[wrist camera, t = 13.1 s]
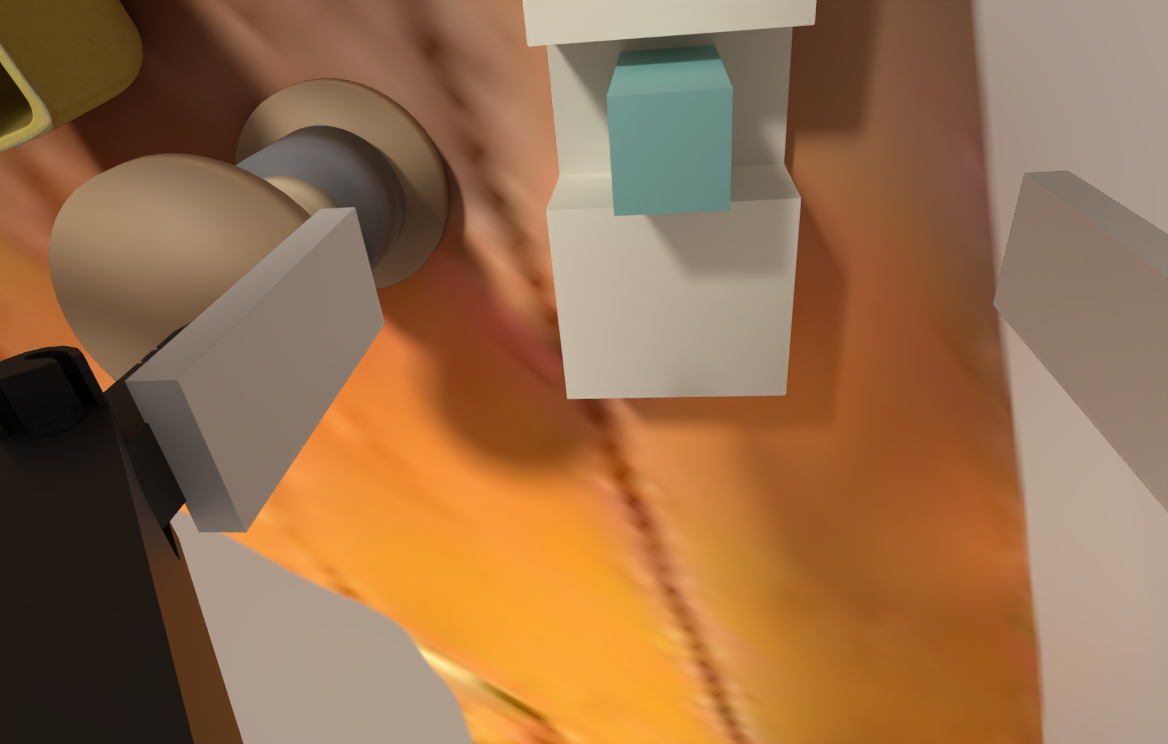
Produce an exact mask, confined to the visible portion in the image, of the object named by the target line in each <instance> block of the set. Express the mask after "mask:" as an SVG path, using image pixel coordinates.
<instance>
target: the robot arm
mask: <svg viewBox="0 0 1168 744" xmlns="http://www.w3.org/2000/svg"><path fill="white" fill-rule="evenodd" d="M993 305H994V307H995V308H996V309H997V310H998V311H999V313H1000V314H1001V315H1002V316H1003V317H1004V318H1005V320H1006V321H1007V322H1008V323H1009V324H1010V325H1011V326H1012V328H1013V329H1014V330H1015V331H1016V333H1017V334H1018V335H1019V336H1020V337H1021V339H1022V340H1023V341H1024V342H1025V343H1026V345H1027V346H1028V347H1029V348H1030V349H1031V350H1032V352H1033V353H1034V354H1035V355H1036V356H1037V358H1038V359H1039V360H1040V361H1041V362H1042V364H1043V365H1044V366H1045V367H1046V368H1047V369H1048V371H1049V372H1050V373H1051V374H1052V375H1053V376H1054V378H1055V379H1056V380H1057V381H1058V383H1059V384H1060V385H1061V386H1062V387H1063V388H1064V390H1065V391H1066V392H1067V393H1068V394H1069V396H1070V397H1071V398H1072V399H1073V400H1074V401H1075V403H1076V404H1077V405H1078V406H1079V407H1080V409H1082V411H1083V412H1084V413H1085V415H1086V416H1087V417H1088V418H1089V419H1090V420H1091V422H1092V423H1093V424H1094V425H1095V426H1096V427H1097V429H1098V430H1099V431H1100V432H1101V434H1102V435H1103V436H1104V437H1105V438H1106V439H1107V441H1108V442H1109V443H1110V444H1111V445H1112V447H1113V448H1114V449H1115V450H1116V451H1117V452H1118V454H1119V455H1120V456H1121V457H1122V458H1123V460H1124V461H1125V462H1126V463H1127V464H1128V465H1129V467H1130V468H1131V469H1132V470H1133V471H1134V473H1135V474H1136V475H1137V476H1138V477H1139V479H1140V480H1141V481H1142V482H1143V483H1144V485H1145V486H1146V487H1147V488H1148V489H1149V490H1150V492H1151V493H1152V494H1153V495H1154V496H1155V498H1156V499H1157V500H1158V501H1159V502H1160V503H1161V505H1162V506H1163V507H1164V508H1165V509H1166V511H1167V512H1168V234H1166V233H1165V232H1163V231H1162V230H1160V229H1158V228H1157V227H1155V226H1154V225H1152V224H1151V223H1149V222H1147V221H1146V220H1144V219H1143V218H1141V217H1140V216H1138V215H1137V214H1135V213H1133V212H1132V211H1130V210H1128V209H1127V208H1126V207H1124V206H1122V205H1121V204H1119V203H1118V202H1116V201H1114V200H1113V199H1112V198H1110V197H1108V196H1107V195H1105V194H1104V193H1102V192H1101V191H1099V190H1097V189H1096V188H1094V187H1093V186H1091V185H1090V184H1088V183H1086V182H1085V181H1083V180H1082V179H1080V178H1078V177H1077V176H1076V175H1074V174H1072V173H1071V172H1069V171H1055V172H1035V173H1024V177H1023V181H1022V185H1021V190H1020V193H1019V198H1018V202H1017V206H1016V211H1015V214H1014V218H1013V223H1012V227H1011V232H1010V235H1009V239H1008V243H1007V248H1006V252H1005V256H1004V260H1003V264H1002V268H1001V272H1000V277H999V281H998V285H997V289H996V293H995V297H994V301H993ZM384 324H385V322H384V318H383V314H382V310H381V306H380V303H379V299H378V295H377V291H376V287H375V283H374V279H373V275H372V271H371V267H370V264H369V260H368V256H367V252H366V248H365V244H364V240H363V236H362V232H361V229H360V225H359V221H358V217H357V213H356V209H355V207H349V208H329V209H320V210H318V211H317V212H316V213H315V214H314V215H313V216H312V217H310V218H309V219H308V220H307V221H306V222H305V223H304V224H302V225H301V226H300V227H299V228H298V229H297V230H296V231H295V232H293V233H292V234H291V235H290V236H289V237H288V238H287V239H285V240H284V241H283V242H282V243H281V244H280V245H279V246H278V247H276V248H275V249H274V250H273V251H272V252H271V253H270V254H268V255H267V256H266V257H265V258H264V259H263V260H262V261H261V262H259V263H258V264H257V265H256V266H255V267H254V268H253V269H251V270H250V271H249V272H248V273H247V274H246V275H245V276H243V277H242V278H241V279H240V280H239V281H238V282H237V283H236V284H234V285H233V286H232V287H231V288H230V289H229V290H228V291H226V292H225V293H224V294H223V295H222V296H221V297H220V298H219V299H217V300H216V301H215V302H214V303H213V304H212V305H211V306H209V307H208V308H207V309H206V310H205V311H204V312H203V313H201V314H200V315H199V316H198V317H197V318H196V319H195V320H194V321H192V322H190V323H188V324H186V325H185V326H183V327H181V328H179V329H177V330H175V331H174V332H173V333H172V334H170V335H169V336H168V337H167V338H166V339H165V340H163V341H162V342H161V343H160V344H159V345H158V346H157V347H156V348H157V349H156V350H152V351H151V352H150V353H149V354H147V355H146V356H145V357H144V358H143V359H142V360H141V363H137V364H136V365H135V366H134V367H132V368H131V369H130V370H129V371H128V372H127V373H125V374H124V375H123V376H122V377H121V378H120V379H119V380H117V381H116V382H115V383H114V384H113V385H112V386H110V387H109V388H108V389H107V390H106V391H105V392H104V393H103V392H102V390H101V388H100V386H99V384H98V382H97V380H96V378H95V376H94V374H93V372H92V370H91V368H90V367H89V365H88V363H87V361H86V359H85V357H84V355H83V353H82V352H81V351H80V350H79V349H78V348H75V347H69V346H56V347H45V348H41V349H37V350H33V351H28V352H24V353H22V354H19V355H16V356H13V357H11V358H8V359H5V360H3V361H1V362H0V744H243V741H242V738H241V735H240V732H239V728H238V725H237V722H236V719H235V716H234V712H233V709H232V706H231V703H230V700H229V697H228V693H227V690H226V687H225V684H224V681H223V678H222V675H221V671H220V668H219V665H218V662H217V659H216V655H215V652H214V649H213V646H212V643H211V639H210V636H209V633H208V630H207V627H206V623H205V620H204V617H203V614H202V611H201V608H200V605H199V602H198V598H197V595H196V592H195V589H194V586H193V582H192V579H191V576H190V573H189V570H188V567H187V563H186V560H185V557H184V554H183V551H182V547H181V544H180V541H179V538H178V536H177V534H176V532H175V531H174V529H173V527H172V525H171V523H170V520H171V519H172V518H173V517H174V515H175V514H176V513H177V512H178V510H179V509H180V508H181V507H182V505H183V504H184V503H185V504H186V506H187V508H188V510H189V512H190V514H191V516H192V519H193V521H194V523H195V525H196V527H197V529H198V531H199V532H247V530H248V529H249V527H250V526H251V524H252V523H253V521H254V520H255V518H256V517H257V515H258V514H259V512H260V511H261V509H262V508H263V506H264V505H265V503H266V502H267V500H268V499H269V497H270V496H271V494H272V493H273V491H274V490H275V488H276V487H277V485H278V484H279V482H280V481H281V479H282V478H283V476H284V475H285V473H286V472H287V470H288V469H289V467H290V466H291V464H292V463H293V461H294V460H295V458H296V457H297V455H298V454H299V452H300V451H301V449H302V448H303V446H304V445H305V443H306V441H307V440H308V438H309V437H310V435H311V434H312V432H313V431H314V429H315V428H316V426H317V425H318V423H319V422H320V420H321V419H322V417H323V416H324V414H325V413H326V411H327V410H328V408H329V407H330V405H331V404H332V402H333V401H334V399H335V398H336V396H337V395H338V393H339V392H340V390H341V389H342V387H343V386H344V384H345V383H346V381H347V380H348V378H349V377H350V375H351V374H352V372H353V371H354V369H355V368H356V366H357V365H358V363H359V362H360V360H361V359H362V357H363V356H364V354H365V353H366V351H367V350H368V348H369V347H370V345H371V344H372V342H373V341H374V339H375V338H376V336H377V335H378V333H379V332H380V330H381V329H382V327H383V326H384Z"/></svg>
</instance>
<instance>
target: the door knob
mask: <svg viewBox="0 0 1168 744" xmlns="http://www.w3.org/2000/svg"><path fill="white" fill-rule="evenodd" d="M349 207H355V209H356V213H357V217H358V221H359V225H360V229H361V232H362V236H363V240H364V244H365V248H366V252H367V256H368V260H369V264H370V267H371V271H372V275H373V279H374V283H375V287H376V289H380V288H384V287H388V286H391V285H394V284H396V283H399V282H401V281H402V280H404V279H406V278H408V277H409V276H411V275H412V274H413V273H414V272H416V271H417V270H418V269H419V268H420V267H421V266H422V265H423V264H424V263H425V262H426V261H427V259H428V258H429V256H430V255H431V253H432V252H433V250H434V249H435V247H436V246H437V244H438V243H439V241H440V239H441V237H442V235H443V233H444V230H445V226H446V223H447V219H448V212H449V188H448V181H447V177H446V173H445V169H444V166H443V163H442V161H441V158H440V155H439V153H438V152H437V150H436V148H435V146H434V144H433V142H432V140H431V139H430V137H429V136H428V135H427V133H426V132H425V130H424V129H423V128H422V126H421V125H420V124H419V123H418V122H417V121H416V119H415V118H414V117H413V116H412V115H411V114H409V113H408V112H407V111H406V110H405V109H404V108H403V107H402V106H400V105H399V104H398V103H396V102H395V101H394V100H392V99H391V98H389V97H388V96H386V95H384V94H382V93H381V92H379V91H377V90H375V89H372V88H370V87H368V86H365V85H363V84H359V83H356V82H352V81H348V80H341V79H314V80H307V81H304V82H301V83H297V84H294V85H292V86H290V87H288V88H286V89H283V90H281V91H279V92H277V93H275V94H273V95H272V96H270V97H269V98H267V99H266V100H265V101H263V102H262V103H261V104H260V105H259V106H258V107H257V108H256V109H255V110H254V111H253V112H252V114H251V115H250V117H249V118H248V120H247V121H246V123H245V125H244V127H243V129H242V131H241V133H240V137H239V140H238V144H237V148H236V156H235V165H232V164H230V163H227V162H224V161H220V160H216V159H213V158H209V157H205V156H199V155H192V154H185V153H162V154H154V155H147V156H143V157H139V158H136V159H133V160H129V161H127V162H125V163H122V164H120V165H118V166H116V167H114V168H111V169H109V170H107V171H105V172H103V173H101V174H99V175H97V176H95V177H93V178H91V179H89V180H88V181H87V182H85V183H84V184H83V185H81V186H80V187H79V188H77V189H76V190H75V191H74V192H73V194H72V195H71V196H70V197H69V198H68V199H67V200H66V202H65V203H64V205H63V207H62V208H61V210H60V212H59V214H58V215H57V218H56V220H55V223H54V226H53V229H52V233H51V240H50V247H49V262H50V271H51V277H52V283H53V287H54V290H55V293H56V296H57V300H58V302H59V305H60V307H61V309H62V311H63V314H64V316H65V318H66V320H67V322H68V323H69V325H70V327H71V328H72V330H73V332H74V334H75V335H76V337H77V338H78V339H79V341H80V342H81V344H82V345H83V346H84V348H85V349H86V351H87V352H88V353H89V354H90V355H91V356H92V357H93V359H94V360H95V361H96V362H97V363H98V364H99V365H100V367H102V368H103V369H104V370H105V371H106V372H107V373H108V374H109V375H110V376H111V377H112V378H113V379H114V380H115V381H117V380H119V379H120V378H121V377H122V376H123V375H124V374H125V373H127V372H128V371H129V370H130V369H131V368H132V367H134V366H135V365H136V364H137V363H141V360H142V359H143V358H144V357H145V356H146V355H147V354H149V353H150V352H151V351H152V350H156V349H157V348H156V347H157V346H158V345H159V344H160V343H161V342H162V341H163V340H165V339H166V338H167V337H168V336H169V335H170V334H172V333H173V332H174V331H175V330H177V329H179V328H181V327H183V326H185V325H186V324H188V323H190V322H192V321H194V320H195V319H196V318H197V317H198V316H199V315H200V314H201V313H203V312H204V311H205V310H206V309H207V308H208V307H209V306H211V305H212V304H213V303H214V302H215V301H216V300H217V299H219V298H220V297H221V296H222V295H223V294H224V293H225V292H226V291H228V290H229V289H230V288H231V287H232V286H233V285H234V284H236V283H237V282H238V281H239V280H240V279H241V278H242V277H243V276H245V275H246V274H247V273H248V272H249V271H250V270H251V269H253V268H254V267H255V266H256V265H257V264H258V263H259V262H261V261H262V260H263V259H264V258H265V257H266V256H267V255H268V254H270V253H271V252H272V251H273V250H274V249H275V248H276V247H278V246H279V245H280V244H281V243H282V242H283V241H284V240H285V239H287V238H288V237H289V236H290V235H291V234H292V233H293V232H295V231H296V230H297V229H298V228H299V227H300V226H301V225H302V224H304V223H305V222H306V221H307V220H308V219H309V218H310V217H312V216H313V215H314V214H315V213H316V212H317V211H318V210H320V209H329V208H349Z"/></svg>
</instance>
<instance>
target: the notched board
mask: <svg viewBox="0 0 1168 744" xmlns="http://www.w3.org/2000/svg"><path fill="white" fill-rule="evenodd" d="M816 1H817V0H523V9H524V18H525V26H526V35H527V44H528V46H541V45H547V52H548V62H549V72H550V82H551V92H552V102H553V112H554V122H555V132H556V142H557V153H558V163H559V173H560V176H559V179H558V182H557V184H556V187H555V189H554V192H553V194H552V197H551V199H550V202H549V204H548V207H547V210H546V214H547V223H548V232H549V241H550V250H551V259H552V268H553V276H554V285H555V294H556V303H557V312H558V321H559V330H560V339H561V348H562V357H563V366H564V375H565V384H566V393H567V399H601V398H660V397H720V396H780V395H786V388H787V375H788V362H789V350H790V337H791V324H792V311H793V298H794V285H795V272H796V259H797V246H798V233H799V220H800V207H801V197H800V195H799V193H798V191H797V189H796V187H795V185H794V183H793V181H792V179H791V177H790V175H789V173H788V171H787V168H786V166H785V164H784V157H785V141H786V125H787V109H788V94H789V78H790V62H791V46H792V30H793V26H805V25H815V13H816ZM706 45H715V46H716V49H717V51H718V53H719V56H720V58H721V61H722V63H723V66H724V68H725V70H726V73H727V75H728V78H729V80H730V83H731V85H732V87H733V103H732V147H731V190H730V211H710V212H690V213H669V214H648V215H628V216H614V207H613V192H612V176H611V160H610V144H609V129H608V113H607V93H608V90H609V87H610V84H611V80H612V77H613V74H614V70H615V67H616V64H617V61H618V57H619V54H620V52H626V51H639V50H653V49H666V48H679V47H692V46H706Z"/></svg>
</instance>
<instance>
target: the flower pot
mask: <svg viewBox="0 0 1168 744" xmlns="http://www.w3.org/2000/svg"><path fill="white" fill-rule="evenodd" d="M142 60H143V48H142V40H141V37H140V34H139V32H138V30H137V28H136V26H135V25H134V23H133V21H132V20H131V18H130V17H129V15H128V13H127V12H126V10H125V9H124V7H123V5H122V4H121V2H120V0H0V153H1V152H4V151H6V150H9V149H12V148H14V147H16V146H19V145H21V144H24V143H26V142H28V141H31V140H33V139H35V138H38V137H40V136H42V135H44V134H46V133H49V132H51V131H53V130H55V129H57V128H59V127H61V126H63V125H64V124H66V123H68V122H70V121H72V120H73V119H75V118H77V117H79V116H81V115H83V114H84V113H86V112H88V111H90V110H92V109H94V108H96V107H98V106H99V105H101V104H103V103H105V102H106V101H108V100H110V99H112V98H113V97H115V96H117V95H118V94H120V93H121V92H123V91H124V90H125V89H126V88H127V87H128V86H129V85H131V83H132V82H133V81H134V80H135V78H136V77H137V75H138V73H139V71H140V68H141V65H142Z"/></svg>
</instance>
